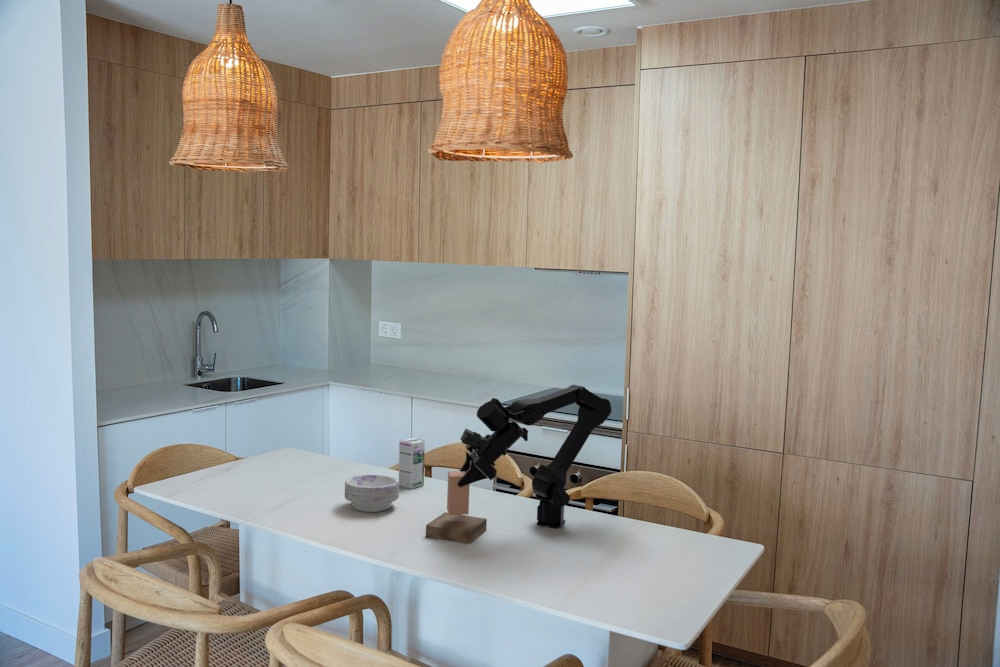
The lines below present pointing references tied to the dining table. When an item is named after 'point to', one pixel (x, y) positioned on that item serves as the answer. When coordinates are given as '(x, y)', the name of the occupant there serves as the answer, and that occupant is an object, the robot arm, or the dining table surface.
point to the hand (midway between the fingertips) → (457, 482)
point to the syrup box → (411, 463)
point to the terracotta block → (457, 494)
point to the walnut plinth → (456, 528)
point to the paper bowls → (371, 492)
